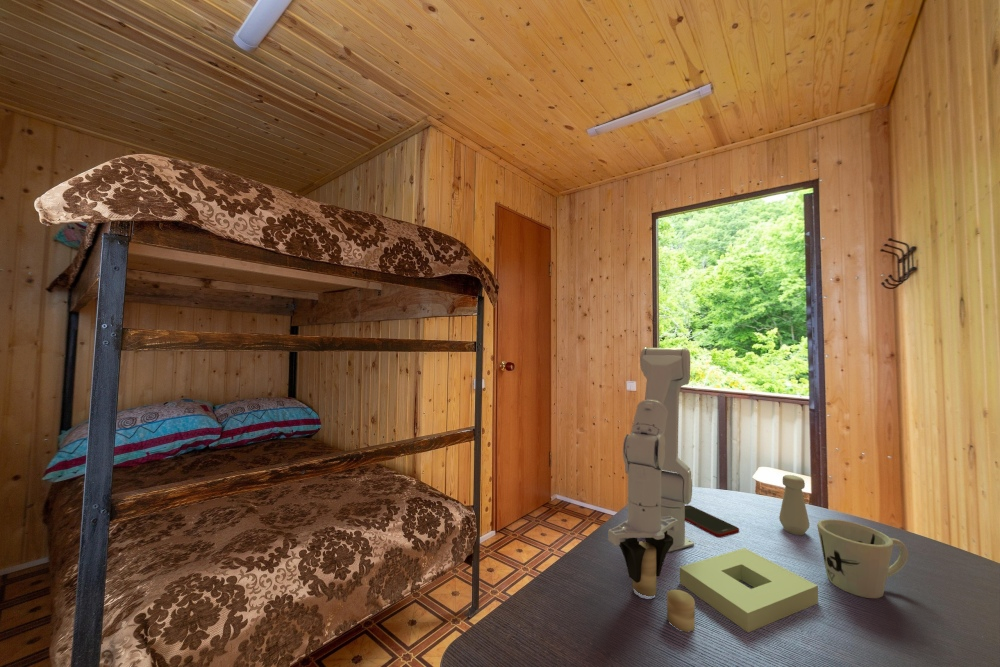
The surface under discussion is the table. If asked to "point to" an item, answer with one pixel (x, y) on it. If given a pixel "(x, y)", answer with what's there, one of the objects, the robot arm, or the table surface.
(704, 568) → the hole board
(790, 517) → the salt shaker
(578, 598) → the table surface
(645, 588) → the tall peg
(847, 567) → the mug
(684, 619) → the short peg
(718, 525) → the cell phone
